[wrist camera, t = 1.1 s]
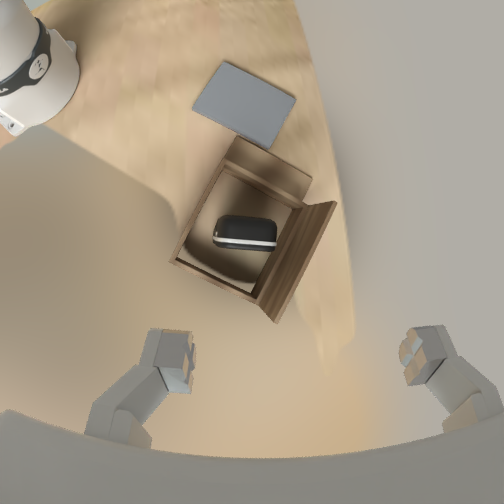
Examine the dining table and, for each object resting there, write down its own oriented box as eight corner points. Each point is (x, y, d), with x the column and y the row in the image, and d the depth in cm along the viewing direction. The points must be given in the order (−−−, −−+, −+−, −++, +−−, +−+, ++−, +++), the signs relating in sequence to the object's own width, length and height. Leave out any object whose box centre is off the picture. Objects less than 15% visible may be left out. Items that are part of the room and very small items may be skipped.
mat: (191, 110, 42) (192, 107, 41) (223, 64, 43) (223, 61, 42) (268, 149, 45) (269, 148, 44) (294, 102, 45) (296, 99, 44)
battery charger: (260, 221, 45) (283, 218, 34) (258, 247, 46) (280, 252, 34) (213, 216, 44) (220, 212, 33) (210, 243, 44) (217, 247, 33)
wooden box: (171, 258, 43) (162, 269, 31) (236, 136, 44) (252, 105, 32) (255, 300, 46) (277, 324, 34) (314, 181, 47) (353, 166, 34)
